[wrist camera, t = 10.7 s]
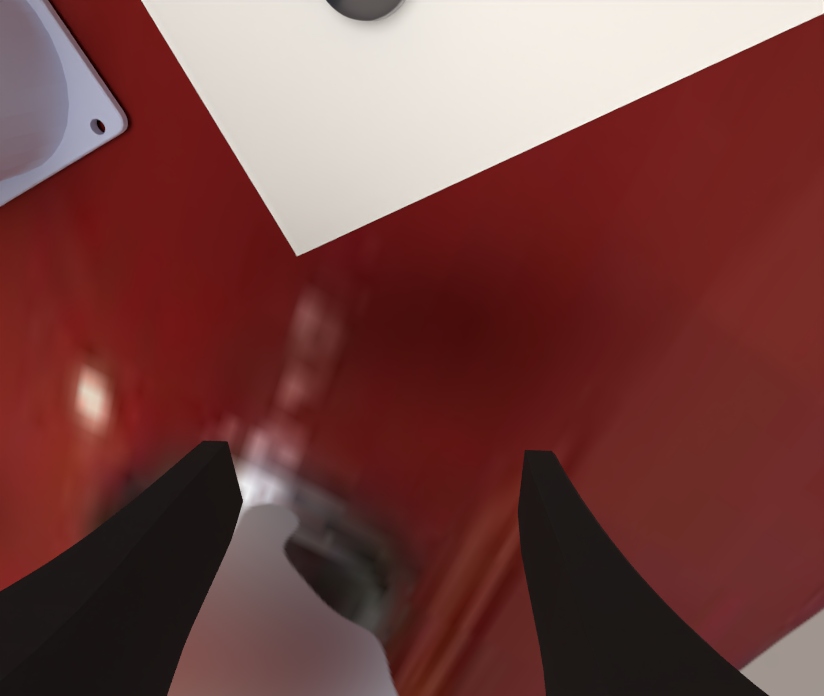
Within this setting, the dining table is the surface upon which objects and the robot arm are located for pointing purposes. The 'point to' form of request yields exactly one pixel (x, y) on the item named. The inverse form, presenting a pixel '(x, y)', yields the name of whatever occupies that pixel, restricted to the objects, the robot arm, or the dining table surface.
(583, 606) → the robot arm
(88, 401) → the dining table surface
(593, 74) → the frame slab
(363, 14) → the bar
